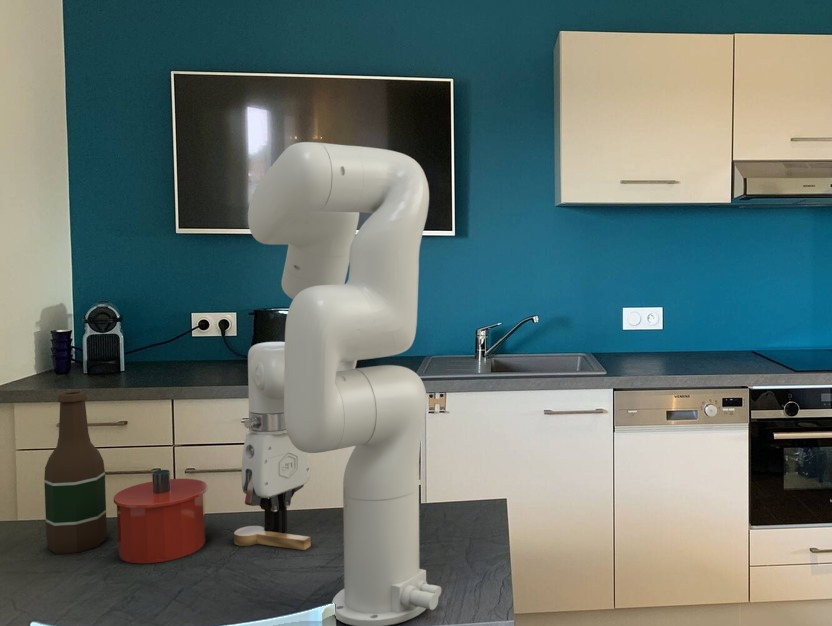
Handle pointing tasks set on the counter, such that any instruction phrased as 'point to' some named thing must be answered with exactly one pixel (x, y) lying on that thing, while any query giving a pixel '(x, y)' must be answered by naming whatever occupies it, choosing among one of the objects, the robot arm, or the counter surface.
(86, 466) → the beer bottle
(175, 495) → the pot lid
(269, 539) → the spoon
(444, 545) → the counter surface
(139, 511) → the pot
